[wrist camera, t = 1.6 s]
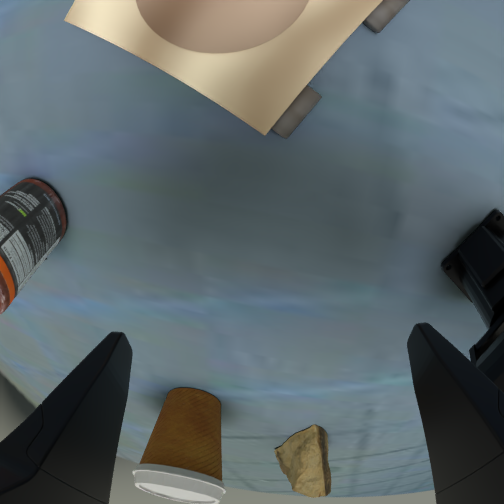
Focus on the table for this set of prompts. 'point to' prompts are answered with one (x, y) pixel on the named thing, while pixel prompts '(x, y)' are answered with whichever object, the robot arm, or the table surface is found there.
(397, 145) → the table surface
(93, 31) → the board
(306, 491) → the rock
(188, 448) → the disposable coffee cup
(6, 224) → the supplement bottle
